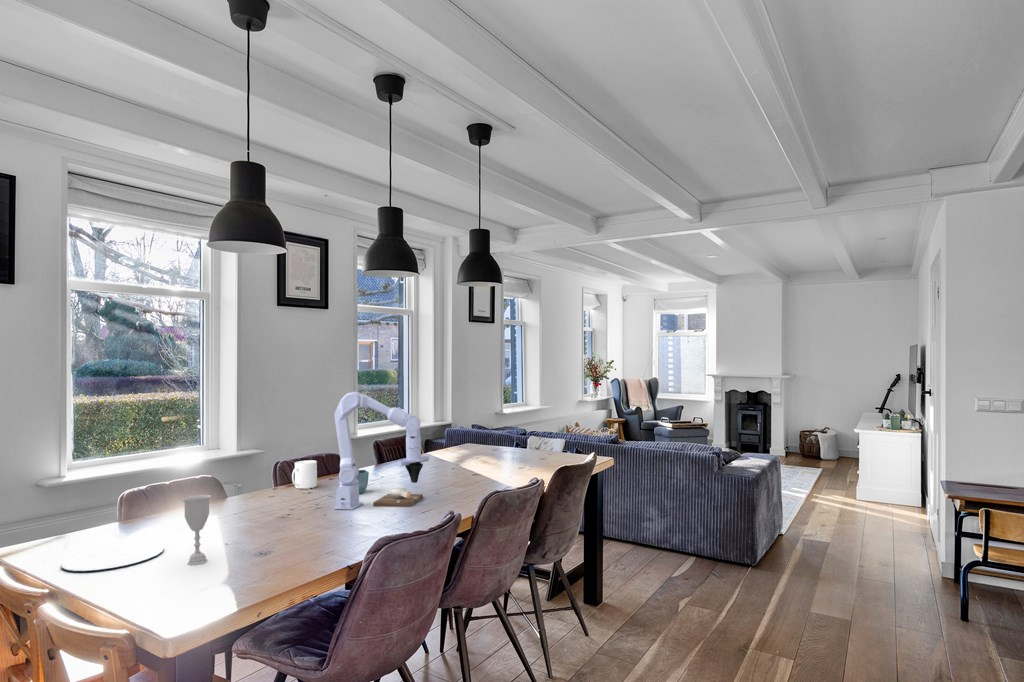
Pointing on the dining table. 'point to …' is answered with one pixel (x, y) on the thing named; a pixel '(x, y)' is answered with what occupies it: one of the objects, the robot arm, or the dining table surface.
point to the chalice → (197, 522)
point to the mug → (305, 474)
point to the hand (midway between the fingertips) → (414, 482)
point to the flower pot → (362, 480)
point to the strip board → (398, 500)
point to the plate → (155, 551)
